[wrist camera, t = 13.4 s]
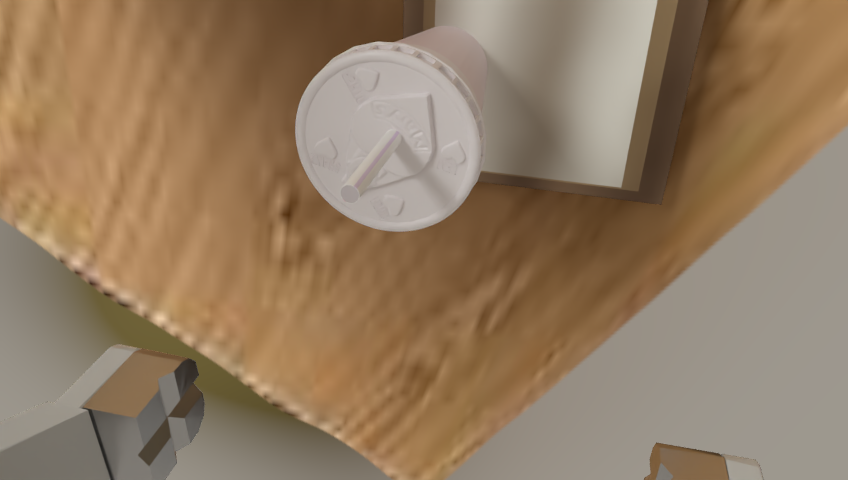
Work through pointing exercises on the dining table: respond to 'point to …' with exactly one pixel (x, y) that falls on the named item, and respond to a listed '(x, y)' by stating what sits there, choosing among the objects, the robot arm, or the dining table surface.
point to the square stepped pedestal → (578, 88)
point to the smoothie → (397, 129)
